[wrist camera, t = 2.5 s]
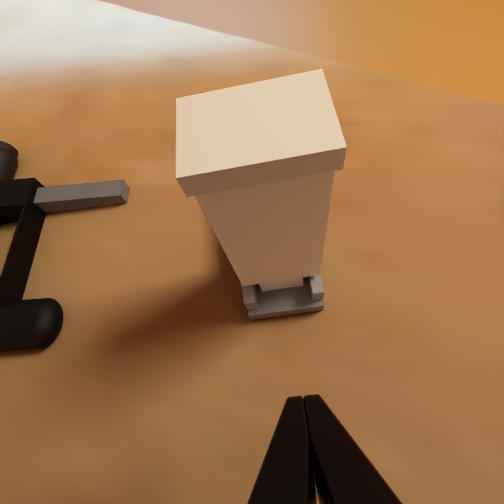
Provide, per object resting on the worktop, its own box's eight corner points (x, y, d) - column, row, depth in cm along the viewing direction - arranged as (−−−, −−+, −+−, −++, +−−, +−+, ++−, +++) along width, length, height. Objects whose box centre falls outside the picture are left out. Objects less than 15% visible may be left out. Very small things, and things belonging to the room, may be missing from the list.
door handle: (127, 124, 29) (-35, 140, 30) (89, 343, 21) (-135, 357, 22) (142, 149, 32) (-6, 163, 33) (114, 351, 24) (-85, 362, 25)
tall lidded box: (322, 287, 21) (346, 146, 9) (244, 298, 21) (175, 178, 10) (311, 239, 22) (322, 68, 11) (240, 250, 23) (176, 98, 11)
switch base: (323, 310, 21) (325, 298, 19) (249, 320, 22) (242, 310, 19) (294, 172, 27) (293, 148, 24) (235, 182, 27) (229, 160, 25)
